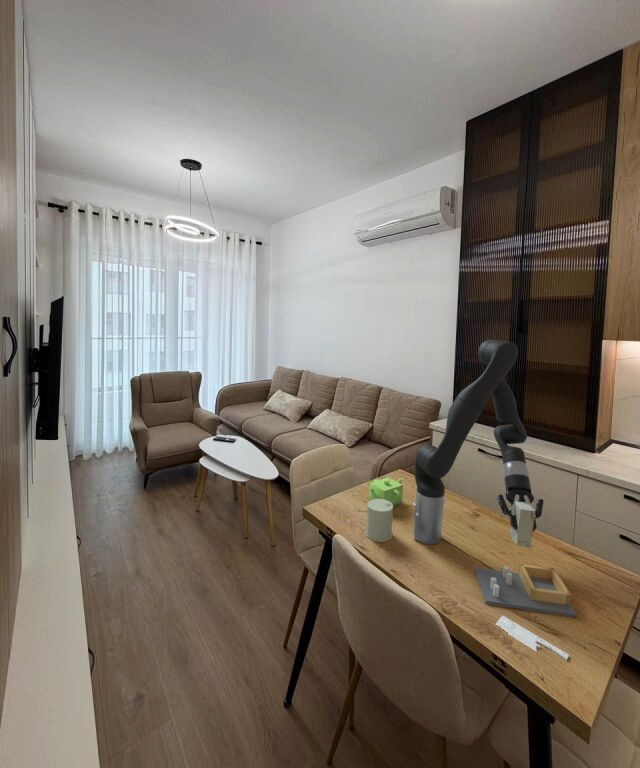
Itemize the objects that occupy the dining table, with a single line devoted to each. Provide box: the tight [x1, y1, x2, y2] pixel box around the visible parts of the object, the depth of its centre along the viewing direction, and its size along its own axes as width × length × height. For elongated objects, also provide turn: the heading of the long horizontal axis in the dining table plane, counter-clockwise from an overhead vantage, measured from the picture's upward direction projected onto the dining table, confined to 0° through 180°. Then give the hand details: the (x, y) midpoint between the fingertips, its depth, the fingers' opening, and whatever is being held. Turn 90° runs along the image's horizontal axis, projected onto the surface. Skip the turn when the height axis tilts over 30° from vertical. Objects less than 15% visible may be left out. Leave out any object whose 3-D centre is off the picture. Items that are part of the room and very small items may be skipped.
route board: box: [474, 563, 577, 618], centre depth 105 cm, size 22×14×4 cm, turn 79°
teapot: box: [367, 477, 405, 507], centre depth 153 cm, size 15×13×11 cm
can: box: [365, 499, 394, 543], centre depth 131 cm, size 9×9×12 cm
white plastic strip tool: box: [495, 615, 570, 661], centre depth 89 cm, size 5×15×1 cm, turn 40°
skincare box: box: [510, 501, 536, 548], centre depth 117 cm, size 6×4×12 cm
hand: (524, 529), depth 115 cm, fingers closed on skincare box, 4 cm apart
